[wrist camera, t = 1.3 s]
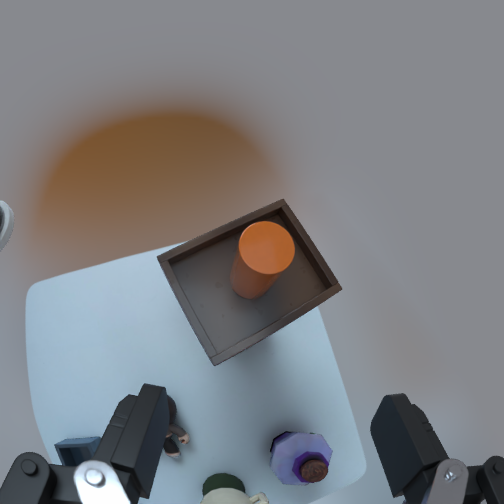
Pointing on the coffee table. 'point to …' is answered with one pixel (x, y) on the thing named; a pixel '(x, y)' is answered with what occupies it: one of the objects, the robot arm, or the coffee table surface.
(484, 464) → the robot arm
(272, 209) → the walnut tray stand
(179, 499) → the coffee table surface
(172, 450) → the figurine
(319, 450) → the potion bottle
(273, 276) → the orange glossy cylinder
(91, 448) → the three-compartment dish
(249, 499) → the character mug
